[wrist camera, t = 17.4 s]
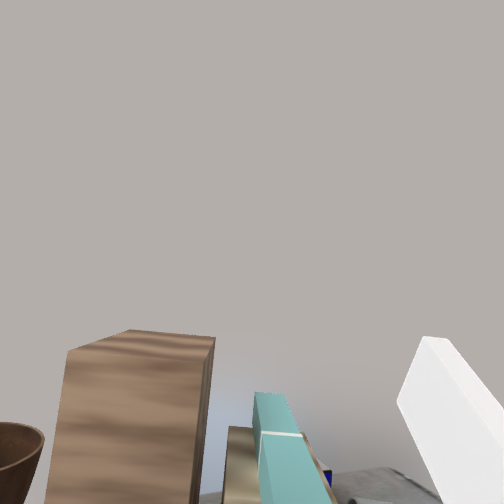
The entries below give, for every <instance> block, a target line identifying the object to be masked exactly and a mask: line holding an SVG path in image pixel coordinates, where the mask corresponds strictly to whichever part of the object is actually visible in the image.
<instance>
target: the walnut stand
mask: <svg viewBox="0 0 504 504" xmlns="http://www.w3.org/2000/svg"><path fill="white" fill-rule="evenodd" d="M215 339H216V338H215V337H207V336H196V335H186V334H174V333H163V332H152V331H141V330H127V331H125V332H122V333H119V334H116V335H113V336H110V337H107V338H104V339H102V340H99V341H96V342H93V343H90V344H87V345H84V346H81V347H78V348H76V349H73V350H70V351H68V353H67V359H66V366H65V372H64V379H63V385H62V392H61V398H60V405H59V411H58V418H57V424H56V431H55V437H54V444H53V450H52V457H51V464H50V469H49V476H48V483H47V489H46V496H45V502H44V504H198V503H199V493H200V483H201V473H202V464H203V454H204V445H205V435H206V425H207V416H208V406H209V396H210V387H211V377H212V368H213V358H214V349H215Z"/></svg>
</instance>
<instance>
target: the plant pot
mask: <svg viewBox="0 0 504 504" xmlns="http://www.w3.org/2000/svg"><path fill="white" fill-rule="evenodd" d="M44 440H45V437H44V435H43V433H42V432H41V431H40V430H38V429H37V428H34V427H32V426H29V425H25V424H19V423H11V422H0V504H23V503H24V501H25V499H26V496H27V493H28V491H29V488H30V485H31V483H32V479H33V477H34V474H35V471H36V467H37V464H38V461H39V458H40V455H41V451H42V448H43V445H44Z"/></svg>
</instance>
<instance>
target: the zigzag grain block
mask: <svg viewBox="0 0 504 504" xmlns="http://www.w3.org/2000/svg"><path fill="white" fill-rule="evenodd" d="M300 433H301V434H302V436H303V439H304V442H305V444H306V446H307V448H308V451H309V453H310V455H311V457H312V460H313V462H314V464H315V466H316V469H317V471H318V473H319V475H320V477H321V480H322V482H323V484H324V486H325V489H326V491H327V493H328V495H329V498H330V500H331V502H332V504H338V502H337V500H336V498H335V496H334V494H333V492H332V490H331V488H330V486H329V483H328V481H327V479H326V477H325V475H324V473H323V471H322V469H321V467H320V465H319V463H318V461H317V459H316V456H315V455H314V452H313V450H312V449H311V446H310V444H309V442H308V440H307V438H306V436H305V434H304V432H300ZM257 474H258V470H257V461H256V452H255V443H254V434H253V428H247V427H236V426H229V430H228V440H227V450H226V460H225V471H224V481H223V491H222V502H221V504H261V497H260V488H259V479H258V475H257Z"/></svg>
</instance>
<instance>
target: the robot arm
mask: <svg viewBox="0 0 504 504" xmlns="http://www.w3.org/2000/svg"><path fill="white" fill-rule="evenodd" d="M396 402H397V405H398V407H399V409H400V411H401V413H402V415H403V418H404V420H405V422H406V424H407V426H408V428H409V430H410V432H411V435H412V437H413V439H414V441H415V443H416V445H417V448H418V450H419V452H420V454H421V456H422V458H423V460H424V462H425V465H426V467H427V469H428V471H429V473H430V475H431V477H432V480H433V482H434V484H435V486H436V488H437V490H438V492H439V495H440V497H441V499H442V501H443V503H444V504H504V409H503V408H502V406H501V405H500V404H499V403H498V401H497V400H496V399H495V398H494V396H493V395H492V394H491V393H490V391H489V390H488V389H487V388H486V387H485V385H484V384H483V383H482V381H481V380H480V379H479V378H478V376H477V375H476V374H475V373H474V372H473V370H472V369H471V368H470V366H469V365H468V364H467V363H466V361H465V360H464V359H463V358H462V356H461V355H460V354H459V353H458V351H457V350H456V349H455V348H454V346H453V345H452V344H451V343H450V341H449V340H448V339H446V338H436V337H428V336H423V338H422V340H421V343H420V345H419V347H418V350H417V352H416V355H415V357H414V360H413V362H412V365H411V367H410V369H409V372H408V374H407V376H406V379H405V381H404V384H403V386H402V389H401V391H400V394H399V396H398V399H397V401H396Z"/></svg>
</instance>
